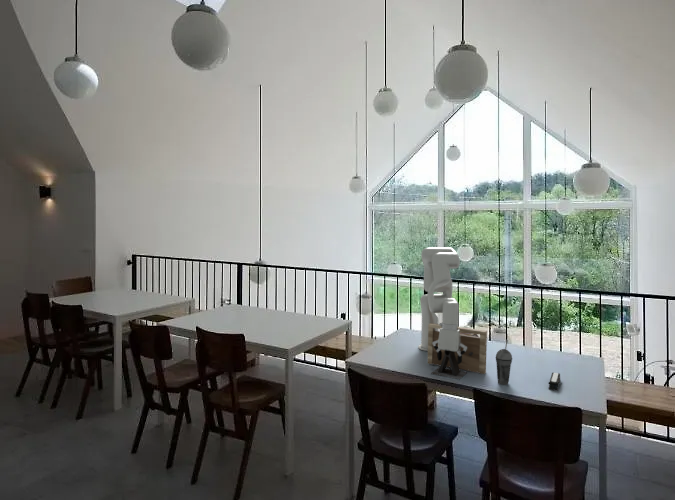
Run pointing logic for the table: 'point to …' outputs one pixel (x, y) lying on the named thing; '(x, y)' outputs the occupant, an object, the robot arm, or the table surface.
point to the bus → (554, 381)
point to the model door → (470, 359)
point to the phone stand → (453, 362)
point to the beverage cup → (503, 365)
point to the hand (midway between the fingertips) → (449, 361)
